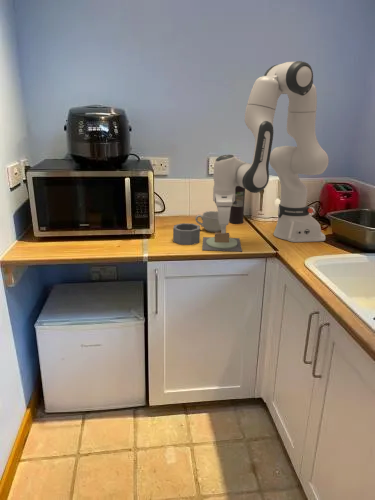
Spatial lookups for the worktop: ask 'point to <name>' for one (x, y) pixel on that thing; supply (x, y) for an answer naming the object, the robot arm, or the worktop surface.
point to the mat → (235, 249)
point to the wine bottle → (237, 206)
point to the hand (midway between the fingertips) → (223, 229)
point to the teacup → (210, 221)
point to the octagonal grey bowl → (186, 234)
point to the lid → (221, 241)
